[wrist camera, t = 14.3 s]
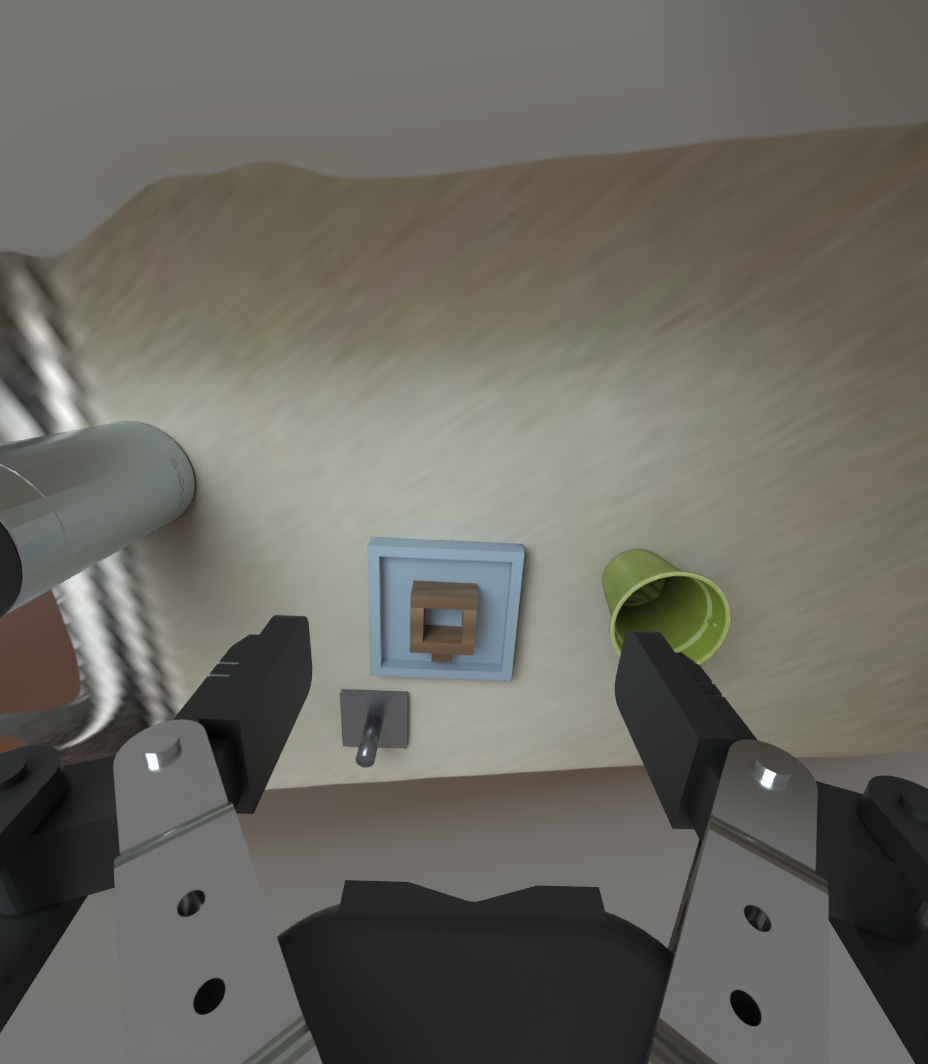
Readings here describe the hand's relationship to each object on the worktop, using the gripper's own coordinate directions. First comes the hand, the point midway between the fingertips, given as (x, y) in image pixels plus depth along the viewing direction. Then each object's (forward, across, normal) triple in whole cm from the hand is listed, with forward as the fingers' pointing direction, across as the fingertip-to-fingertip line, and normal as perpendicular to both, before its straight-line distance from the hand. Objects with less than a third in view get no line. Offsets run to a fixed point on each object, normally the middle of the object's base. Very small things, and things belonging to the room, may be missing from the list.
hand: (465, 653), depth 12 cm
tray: (+30, +1, +16) cm, 34 cm away
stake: (+30, +8, +30) cm, 43 cm away
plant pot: (+30, -17, +12) cm, 37 cm away
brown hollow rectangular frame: (+30, +1, +16) cm, 34 cm away
